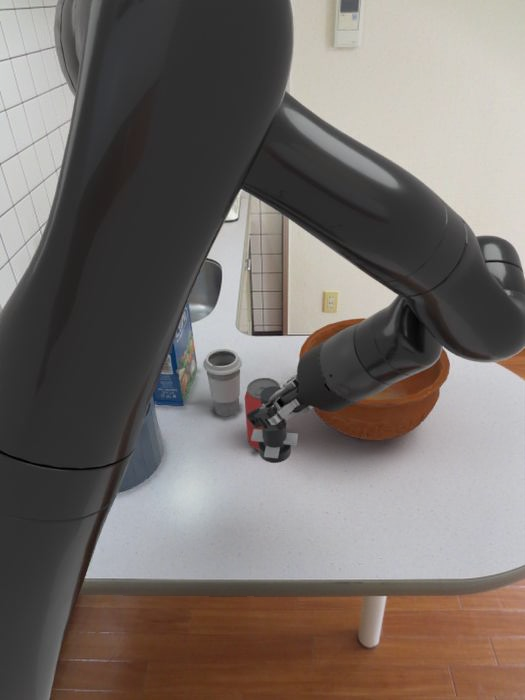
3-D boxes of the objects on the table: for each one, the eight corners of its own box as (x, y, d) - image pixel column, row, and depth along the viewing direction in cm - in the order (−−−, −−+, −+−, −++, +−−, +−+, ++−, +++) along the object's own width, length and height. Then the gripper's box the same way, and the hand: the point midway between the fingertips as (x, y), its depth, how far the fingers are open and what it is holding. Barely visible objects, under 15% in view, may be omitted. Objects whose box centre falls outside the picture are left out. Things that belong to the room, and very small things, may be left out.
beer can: (240, 443, 94) (235, 390, 87) (262, 422, 98) (260, 371, 91) (269, 458, 90) (267, 405, 83) (291, 436, 94) (291, 384, 88)
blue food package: (198, 369, 112) (184, 262, 98) (184, 406, 103) (166, 293, 89) (170, 368, 113) (152, 261, 99) (153, 404, 103) (130, 292, 89)
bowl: (458, 411, 98) (473, 345, 90) (394, 495, 83) (405, 424, 74) (345, 365, 112) (349, 304, 103) (272, 430, 96) (269, 363, 88)
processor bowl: (119, 508, 83) (104, 459, 76) (48, 472, 90) (30, 424, 83) (181, 443, 94) (173, 396, 88) (114, 415, 101) (102, 370, 95)
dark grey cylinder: (293, 469, 68) (293, 411, 63) (248, 464, 69) (244, 407, 64) (299, 438, 73) (299, 381, 68) (257, 433, 74) (254, 377, 69)
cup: (202, 413, 101) (195, 363, 94) (219, 393, 105) (214, 344, 99) (234, 424, 98) (230, 372, 91) (251, 402, 103) (247, 352, 96)
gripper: (358, 311, 61) (273, 363, 74) (292, 372, 51) (208, 420, 64) (396, 362, 61) (305, 406, 74) (338, 432, 52) (245, 468, 65)
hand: (261, 412), depth 69 cm, fingers closed on dark grey cylinder, 3 cm apart
